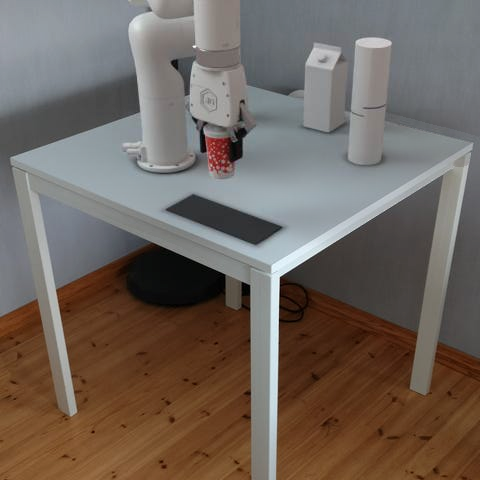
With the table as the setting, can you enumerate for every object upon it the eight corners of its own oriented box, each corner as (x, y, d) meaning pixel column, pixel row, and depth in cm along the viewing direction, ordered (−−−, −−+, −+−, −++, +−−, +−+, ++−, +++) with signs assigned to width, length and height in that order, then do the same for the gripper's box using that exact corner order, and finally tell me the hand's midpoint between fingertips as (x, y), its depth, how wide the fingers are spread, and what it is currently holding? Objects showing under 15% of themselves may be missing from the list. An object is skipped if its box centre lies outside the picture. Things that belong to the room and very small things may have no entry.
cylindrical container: (379, 166, 169) (390, 48, 155) (346, 163, 170) (354, 47, 156) (381, 152, 175) (392, 38, 161) (349, 150, 176) (357, 36, 162)
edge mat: (165, 210, 154) (165, 208, 154) (193, 195, 159) (193, 193, 159) (255, 245, 142) (255, 243, 142) (282, 227, 147) (282, 226, 147)
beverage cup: (241, 179, 143) (240, 105, 136) (207, 182, 142) (204, 107, 135) (235, 165, 148) (234, 93, 141) (203, 168, 147) (199, 95, 140)
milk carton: (318, 117, 193) (322, 38, 182) (344, 123, 189) (349, 43, 179) (303, 127, 188) (305, 46, 177) (329, 133, 184) (333, 51, 174)
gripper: (165, 52, 136) (172, 150, 146) (244, 71, 126) (245, 174, 136) (195, 41, 140) (199, 137, 150) (272, 59, 131) (272, 160, 141)
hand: (221, 154), depth 143 cm, fingers closed on beverage cup, 6 cm apart
